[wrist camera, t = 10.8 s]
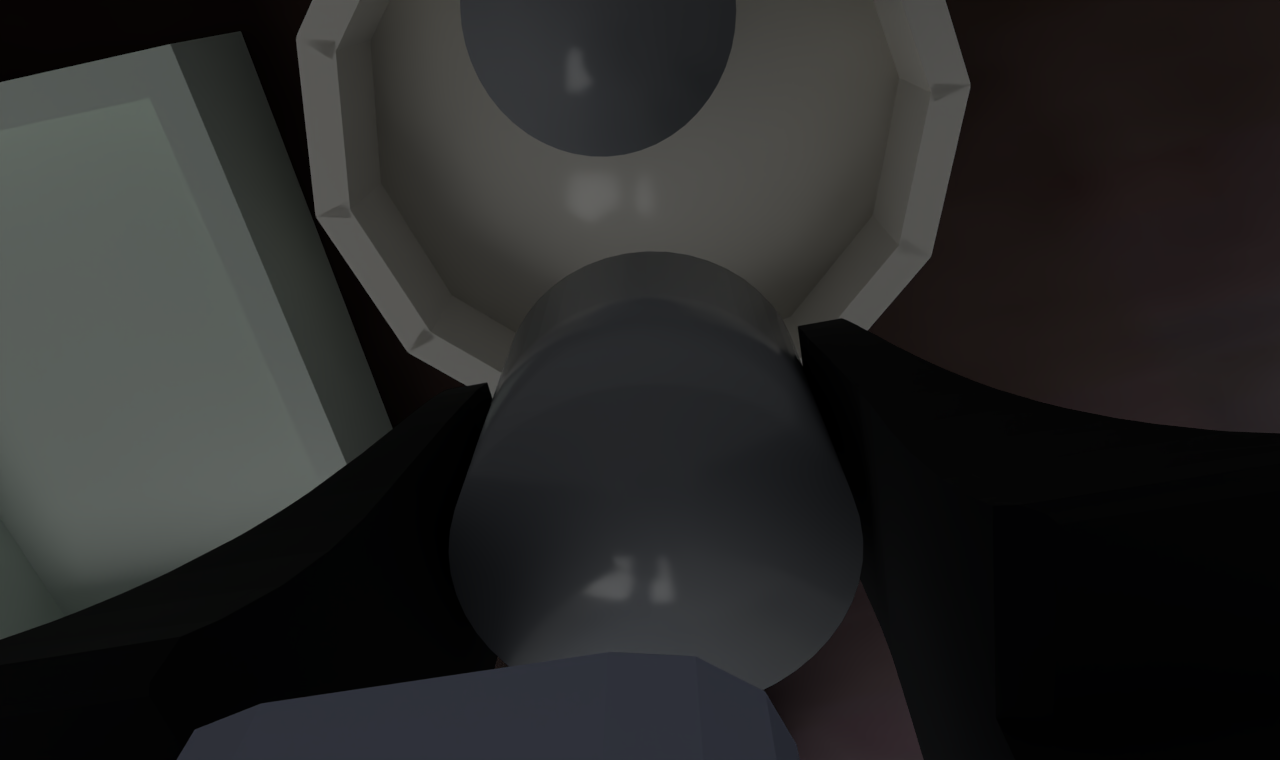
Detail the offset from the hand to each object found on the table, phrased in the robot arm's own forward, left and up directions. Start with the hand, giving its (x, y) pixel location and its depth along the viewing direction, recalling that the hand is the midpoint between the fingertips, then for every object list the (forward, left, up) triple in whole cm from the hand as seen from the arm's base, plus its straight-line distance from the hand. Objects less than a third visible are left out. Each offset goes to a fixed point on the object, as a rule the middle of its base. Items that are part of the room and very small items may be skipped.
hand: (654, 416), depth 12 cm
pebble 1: (+3, -4, -8) cm, 10 cm away
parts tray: (+9, +11, -9) cm, 16 cm away
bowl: (+2, -2, -9) cm, 9 cm away
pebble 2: (0, 0, -1) cm, 1 cm away
